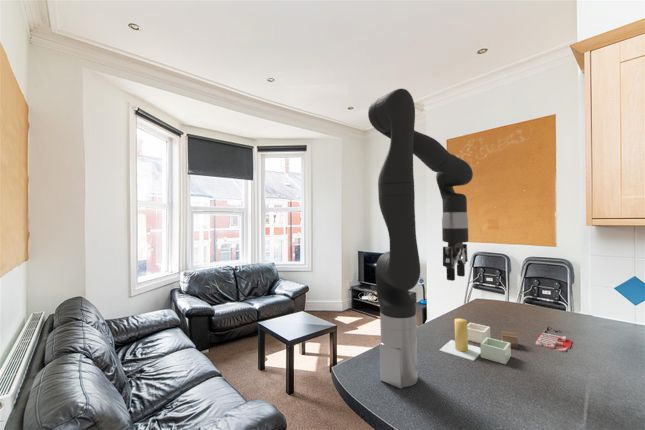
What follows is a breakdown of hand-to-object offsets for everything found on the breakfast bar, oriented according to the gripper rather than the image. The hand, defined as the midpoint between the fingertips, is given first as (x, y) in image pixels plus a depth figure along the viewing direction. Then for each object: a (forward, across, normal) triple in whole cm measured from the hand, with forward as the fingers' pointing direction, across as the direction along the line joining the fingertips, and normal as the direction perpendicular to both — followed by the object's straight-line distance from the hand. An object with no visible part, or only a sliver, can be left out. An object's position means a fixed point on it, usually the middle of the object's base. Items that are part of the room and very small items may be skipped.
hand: (456, 278), depth 92 cm
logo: (+23, +31, -20) cm, 44 cm away
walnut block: (+23, +14, -11) cm, 29 cm away
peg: (+22, 0, -1) cm, 22 cm away
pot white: (+23, +12, -2) cm, 26 cm away
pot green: (+23, +2, -10) cm, 25 cm away
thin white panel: (+23, 0, -1) cm, 23 cm away
